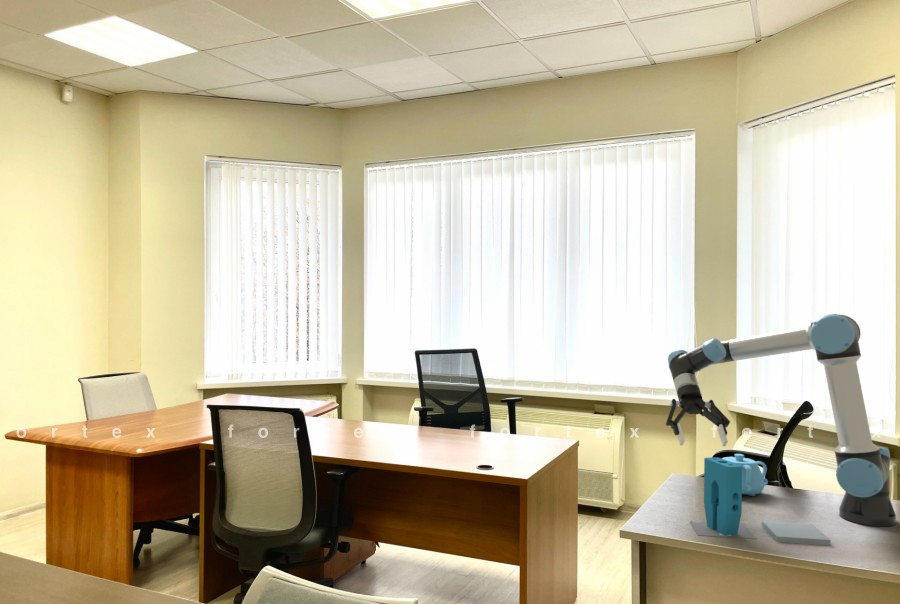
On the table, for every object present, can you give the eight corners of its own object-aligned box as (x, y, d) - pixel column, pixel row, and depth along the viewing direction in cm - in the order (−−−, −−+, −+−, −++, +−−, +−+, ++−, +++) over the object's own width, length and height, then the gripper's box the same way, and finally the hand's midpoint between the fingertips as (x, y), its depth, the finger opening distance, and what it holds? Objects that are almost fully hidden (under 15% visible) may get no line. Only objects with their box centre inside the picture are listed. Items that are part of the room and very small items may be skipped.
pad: (811, 528, 198) (811, 523, 198) (830, 545, 184) (830, 539, 184) (761, 525, 200) (761, 520, 200) (776, 541, 186) (776, 536, 186)
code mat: (745, 526, 200) (745, 525, 200) (756, 539, 188) (756, 538, 188) (689, 522, 202) (689, 521, 202) (697, 536, 190) (697, 534, 190)
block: (742, 536, 190) (743, 466, 190) (727, 537, 189) (728, 467, 189) (716, 522, 201) (717, 457, 202) (702, 524, 200) (702, 457, 201)
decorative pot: (748, 501, 225) (748, 461, 226) (705, 490, 238) (706, 452, 238) (772, 494, 235) (773, 456, 235) (730, 484, 248) (731, 447, 248)
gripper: (721, 397, 227) (739, 450, 212) (648, 395, 227) (661, 449, 212) (727, 383, 222) (747, 437, 207) (653, 382, 222) (667, 435, 207)
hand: (703, 443), depth 210 cm, fingers open, 13 cm apart
